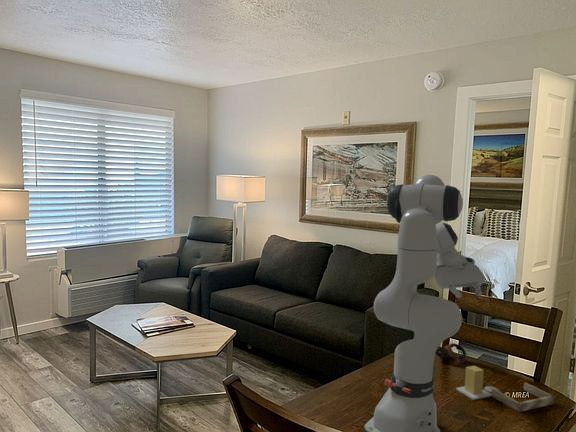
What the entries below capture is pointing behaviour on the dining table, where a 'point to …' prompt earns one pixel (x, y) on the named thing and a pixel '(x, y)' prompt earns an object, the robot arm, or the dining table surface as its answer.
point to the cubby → (526, 405)
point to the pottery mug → (451, 353)
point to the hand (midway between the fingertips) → (469, 296)
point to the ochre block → (474, 380)
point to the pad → (475, 396)
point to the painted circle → (490, 389)
